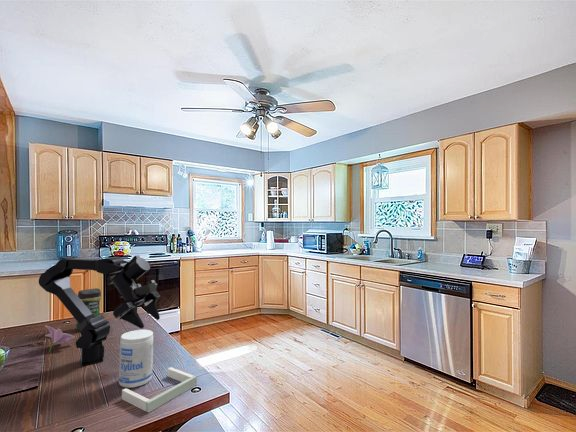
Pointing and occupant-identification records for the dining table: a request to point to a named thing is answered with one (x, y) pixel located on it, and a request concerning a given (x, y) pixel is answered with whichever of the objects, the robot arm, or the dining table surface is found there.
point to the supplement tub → (135, 358)
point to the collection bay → (151, 404)
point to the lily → (59, 336)
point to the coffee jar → (90, 301)
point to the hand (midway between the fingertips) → (151, 323)
